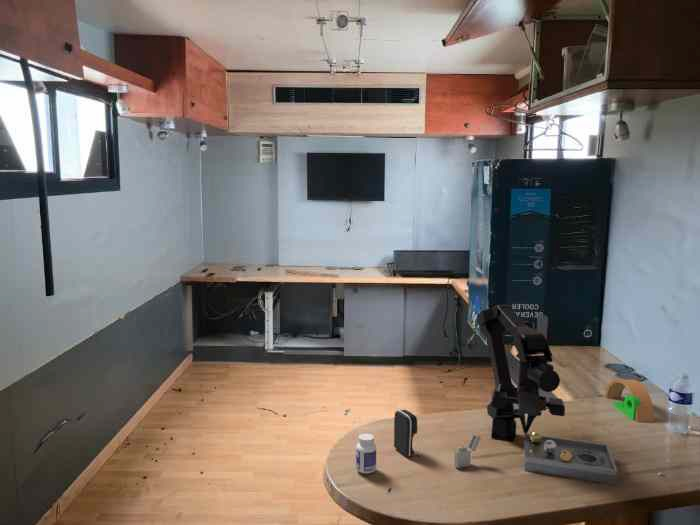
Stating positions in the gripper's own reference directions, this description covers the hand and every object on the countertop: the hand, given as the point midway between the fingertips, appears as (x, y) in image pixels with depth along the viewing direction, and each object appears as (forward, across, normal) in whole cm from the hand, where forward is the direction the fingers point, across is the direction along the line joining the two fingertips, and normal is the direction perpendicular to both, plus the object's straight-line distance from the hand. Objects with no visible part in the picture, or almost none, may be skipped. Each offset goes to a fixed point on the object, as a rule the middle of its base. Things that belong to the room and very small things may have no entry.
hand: (525, 432), depth 146 cm
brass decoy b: (+3, +10, -5) cm, 12 cm away
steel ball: (+3, +7, 0) cm, 7 cm away
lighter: (+7, -15, -9) cm, 19 cm away
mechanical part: (+8, +35, +42) cm, 55 cm away
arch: (+7, +34, +45) cm, 57 cm away
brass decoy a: (+3, +3, +5) cm, 6 cm away
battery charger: (+7, -32, -7) cm, 34 cm away
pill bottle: (+7, -40, -20) cm, 45 cm away
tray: (+7, +11, 0) cm, 13 cm away
